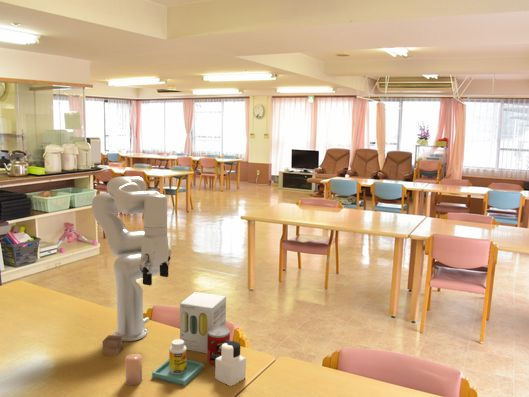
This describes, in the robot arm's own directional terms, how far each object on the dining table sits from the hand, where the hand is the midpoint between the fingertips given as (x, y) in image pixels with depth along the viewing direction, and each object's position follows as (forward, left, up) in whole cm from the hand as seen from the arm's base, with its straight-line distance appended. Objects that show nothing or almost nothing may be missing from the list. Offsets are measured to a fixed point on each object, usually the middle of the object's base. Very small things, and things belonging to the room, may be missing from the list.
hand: (155, 280), depth 160 cm
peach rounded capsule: (+15, +2, -28) cm, 32 cm away
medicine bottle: (+1, +29, -28) cm, 41 cm away
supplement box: (-17, +9, -29) cm, 34 cm away
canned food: (-8, +20, -28) cm, 36 cm away
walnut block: (+2, -17, -28) cm, 33 cm away
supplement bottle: (+5, +12, -28) cm, 31 cm away
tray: (+5, +12, -28) cm, 31 cm away
